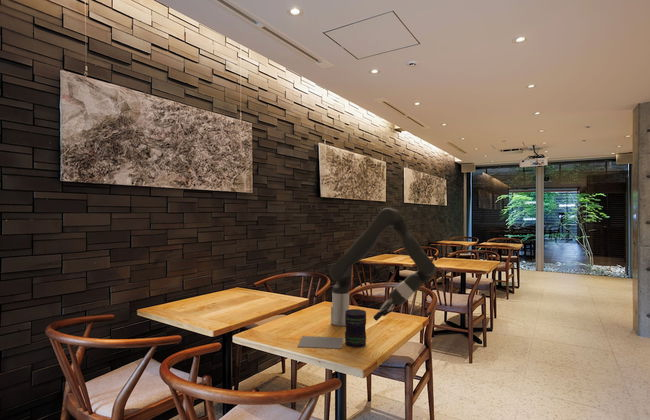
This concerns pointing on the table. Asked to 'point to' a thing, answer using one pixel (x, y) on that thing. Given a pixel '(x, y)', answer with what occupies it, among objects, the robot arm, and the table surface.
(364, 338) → the dark ribbed cylinder
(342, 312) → the robot arm
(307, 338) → the mat
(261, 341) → the table surface
